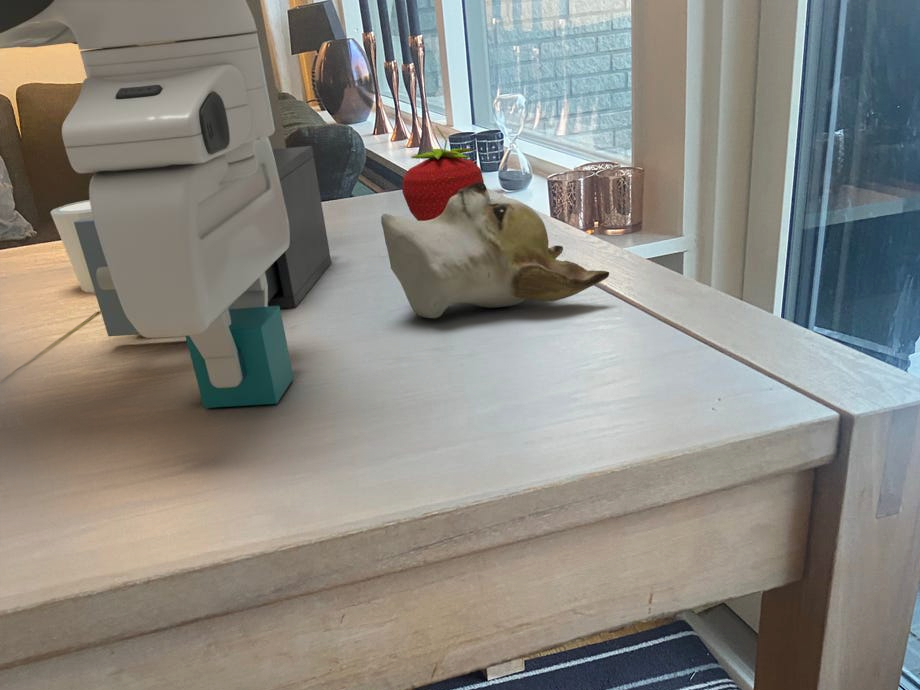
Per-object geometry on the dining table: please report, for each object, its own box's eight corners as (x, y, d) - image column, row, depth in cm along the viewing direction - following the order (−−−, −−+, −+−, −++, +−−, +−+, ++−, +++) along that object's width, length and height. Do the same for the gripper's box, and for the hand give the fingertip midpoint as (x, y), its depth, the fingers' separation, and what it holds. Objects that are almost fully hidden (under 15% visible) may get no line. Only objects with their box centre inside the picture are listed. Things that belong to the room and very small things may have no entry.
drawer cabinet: (295, 307, 75) (270, 173, 70) (142, 318, 76) (105, 187, 71) (331, 263, 87) (312, 145, 82) (198, 273, 88) (170, 158, 83)
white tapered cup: (63, 292, 86) (36, 209, 83) (131, 274, 90) (109, 194, 86) (98, 302, 82) (71, 214, 78) (168, 282, 86) (146, 198, 82)
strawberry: (399, 252, 88) (383, 131, 83) (471, 237, 91) (460, 118, 85) (426, 262, 84) (411, 135, 78) (501, 246, 86) (492, 122, 81)
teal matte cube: (203, 408, 57) (184, 332, 54) (225, 382, 61) (207, 310, 58) (277, 404, 57) (260, 327, 54) (294, 378, 60) (279, 305, 58)
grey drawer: (242, 346, 64) (214, 222, 60) (81, 357, 65) (42, 237, 61) (301, 278, 79) (282, 175, 75) (169, 288, 80) (143, 187, 76)
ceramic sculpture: (364, 178, 68) (561, 164, 72) (374, 302, 73) (558, 284, 76) (395, 201, 60) (617, 184, 63) (405, 341, 64) (610, 318, 68)
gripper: (189, 93, 59) (239, 320, 67) (42, 137, 42) (133, 434, 50) (288, 84, 58) (328, 314, 66) (180, 125, 41) (250, 428, 49)
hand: (243, 367), depth 58 cm, fingers closed on teal matte cube, 4 cm apart
